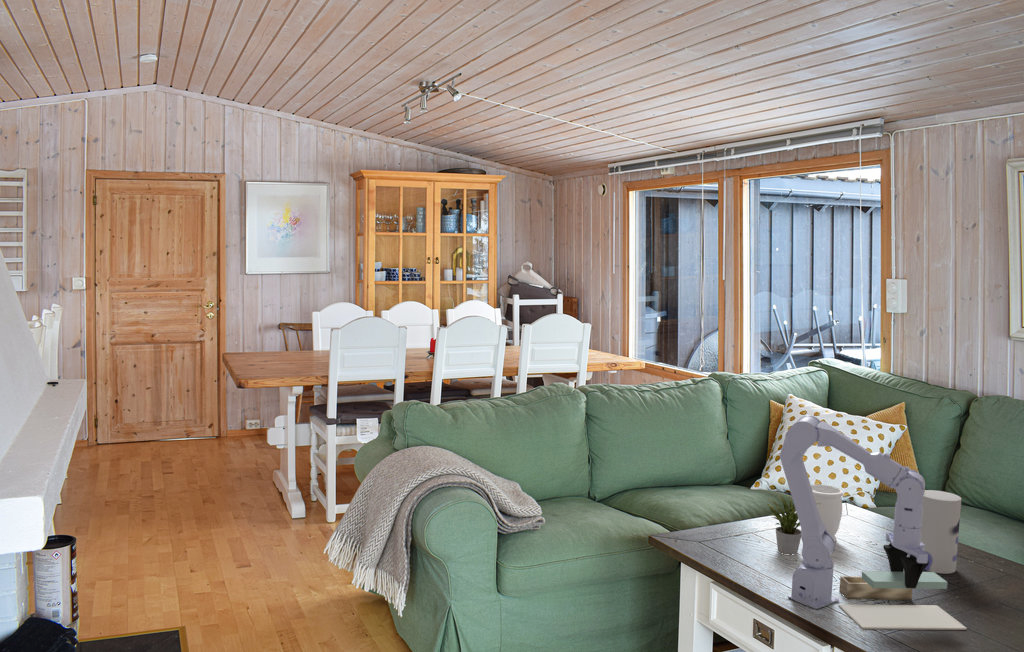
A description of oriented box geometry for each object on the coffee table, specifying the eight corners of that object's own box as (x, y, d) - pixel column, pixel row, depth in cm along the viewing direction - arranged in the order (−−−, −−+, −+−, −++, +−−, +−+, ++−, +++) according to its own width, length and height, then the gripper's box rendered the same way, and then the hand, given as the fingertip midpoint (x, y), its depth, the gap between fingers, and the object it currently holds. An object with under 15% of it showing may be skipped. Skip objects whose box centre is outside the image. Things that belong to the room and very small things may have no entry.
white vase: (816, 546, 237) (819, 495, 236) (794, 534, 247) (797, 484, 246) (847, 543, 240) (851, 493, 239) (825, 531, 250) (828, 483, 248)
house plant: (811, 544, 238) (815, 489, 237) (824, 562, 224) (828, 503, 223) (760, 541, 239) (763, 486, 238) (770, 559, 226) (774, 500, 224)
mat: (862, 629, 184) (862, 627, 184) (838, 606, 196) (838, 604, 196) (966, 629, 186) (966, 628, 185) (936, 606, 197) (936, 605, 197)
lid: (873, 588, 187) (873, 581, 187) (861, 578, 192) (862, 571, 192) (946, 588, 188) (947, 582, 188) (933, 578, 193) (933, 572, 193)
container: (960, 576, 218) (966, 501, 216) (920, 572, 219) (925, 498, 218) (948, 562, 227) (954, 491, 226) (909, 558, 229) (915, 488, 227)
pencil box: (847, 599, 200) (848, 583, 200) (839, 592, 205) (840, 576, 204) (911, 599, 201) (912, 584, 201) (902, 592, 205) (903, 576, 205)
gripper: (942, 535, 182) (938, 595, 183) (908, 514, 196) (903, 570, 197) (911, 535, 181) (907, 595, 183) (879, 514, 196) (875, 569, 197)
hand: (903, 582), depth 190 cm, fingers closed on lid, 6 cm apart
